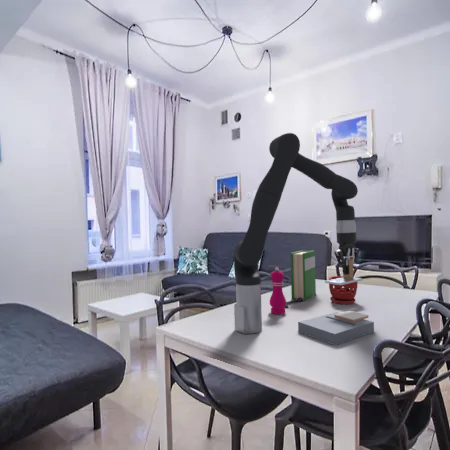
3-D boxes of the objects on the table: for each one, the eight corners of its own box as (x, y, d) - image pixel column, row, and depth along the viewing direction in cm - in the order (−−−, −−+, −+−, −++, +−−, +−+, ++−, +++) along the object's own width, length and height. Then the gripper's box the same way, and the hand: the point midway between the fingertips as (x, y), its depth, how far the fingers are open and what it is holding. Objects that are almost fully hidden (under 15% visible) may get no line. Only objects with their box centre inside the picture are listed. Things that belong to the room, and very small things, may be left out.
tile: (353, 322, 112) (353, 319, 112) (334, 317, 119) (334, 314, 119) (368, 317, 117) (368, 315, 117) (349, 313, 124) (349, 310, 124)
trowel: (340, 285, 120) (339, 262, 120) (325, 282, 126) (324, 260, 126) (362, 280, 127) (361, 258, 127) (347, 278, 133) (346, 257, 133)
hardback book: (305, 300, 160) (304, 253, 160) (291, 299, 164) (290, 252, 164) (315, 293, 175) (314, 250, 175) (302, 292, 179) (301, 250, 179)
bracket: (311, 305, 152) (311, 300, 152) (285, 309, 146) (285, 303, 146) (294, 299, 165) (294, 294, 165) (269, 303, 160) (269, 297, 160)
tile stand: (335, 344, 101) (334, 332, 101) (298, 331, 114) (298, 320, 114) (374, 331, 112) (373, 320, 112) (336, 320, 125) (336, 311, 125)
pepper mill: (273, 309, 144) (272, 265, 144) (288, 311, 141) (287, 266, 141) (267, 313, 138) (266, 267, 138) (282, 315, 134) (281, 268, 135)
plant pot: (329, 305, 150) (328, 279, 150) (329, 298, 163) (328, 275, 163) (359, 306, 146) (358, 280, 146) (357, 300, 158) (356, 276, 158)
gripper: (343, 232, 121) (345, 277, 121) (364, 230, 129) (366, 272, 129) (327, 232, 128) (329, 275, 128) (348, 230, 135) (350, 271, 135)
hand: (348, 273), depth 128 cm, fingers closed on trowel, 2 cm apart
